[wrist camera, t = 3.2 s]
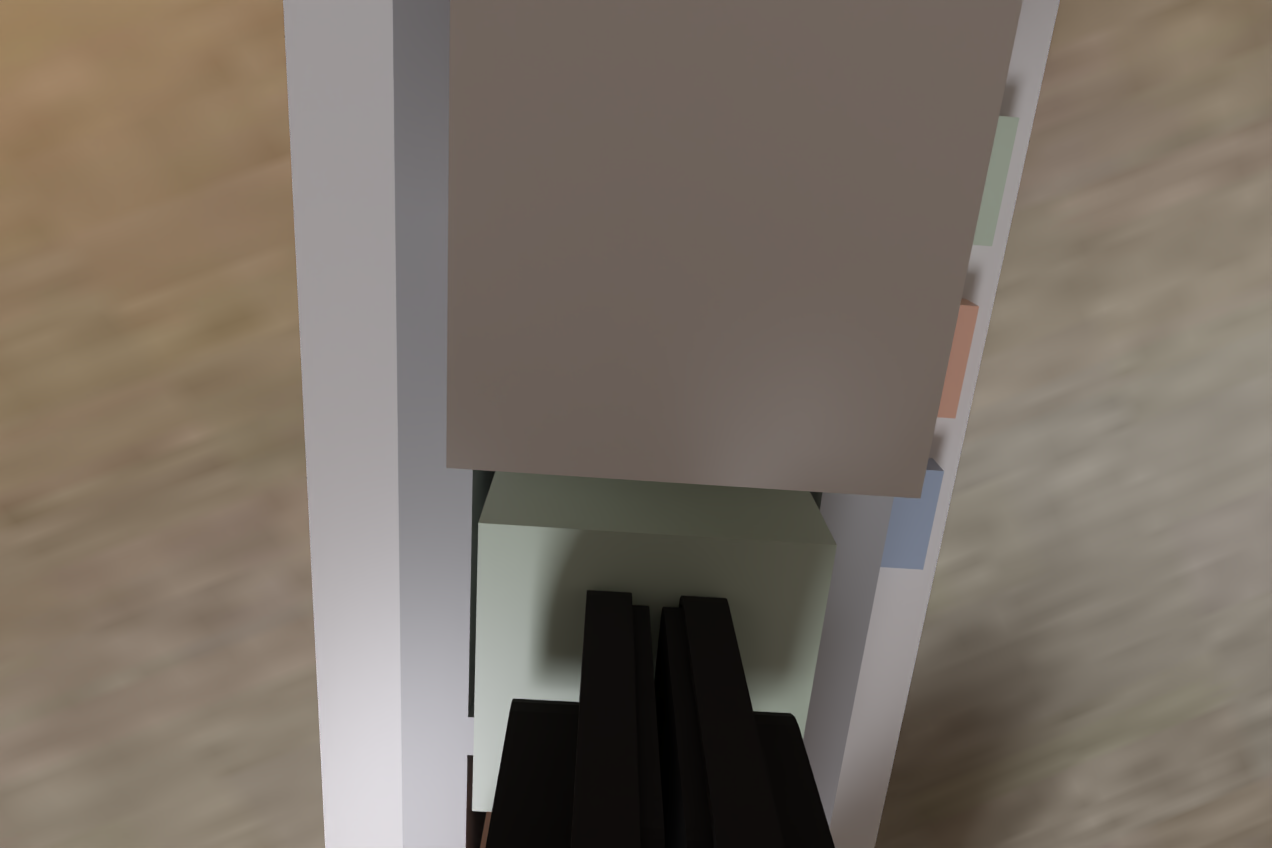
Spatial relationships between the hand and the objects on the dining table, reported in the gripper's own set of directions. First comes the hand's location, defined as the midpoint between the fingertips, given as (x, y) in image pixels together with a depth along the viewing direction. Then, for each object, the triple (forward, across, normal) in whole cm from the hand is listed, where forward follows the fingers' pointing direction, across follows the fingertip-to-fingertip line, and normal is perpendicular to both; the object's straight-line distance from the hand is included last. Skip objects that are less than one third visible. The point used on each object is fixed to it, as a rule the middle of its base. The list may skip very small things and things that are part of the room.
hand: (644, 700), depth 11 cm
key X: (+3, 0, -6) cm, 6 cm away
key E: (+5, 0, 0) cm, 5 cm away
